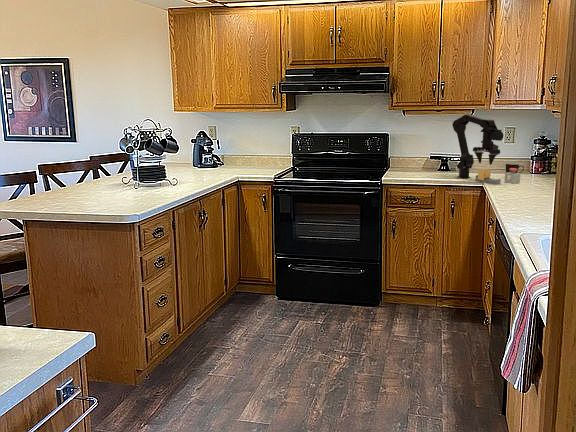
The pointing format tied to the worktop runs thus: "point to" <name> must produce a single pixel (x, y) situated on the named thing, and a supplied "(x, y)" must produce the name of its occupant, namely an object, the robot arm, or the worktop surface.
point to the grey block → (512, 178)
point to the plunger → (513, 170)
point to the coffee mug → (512, 165)
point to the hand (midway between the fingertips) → (485, 163)
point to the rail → (489, 180)
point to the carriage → (483, 173)
